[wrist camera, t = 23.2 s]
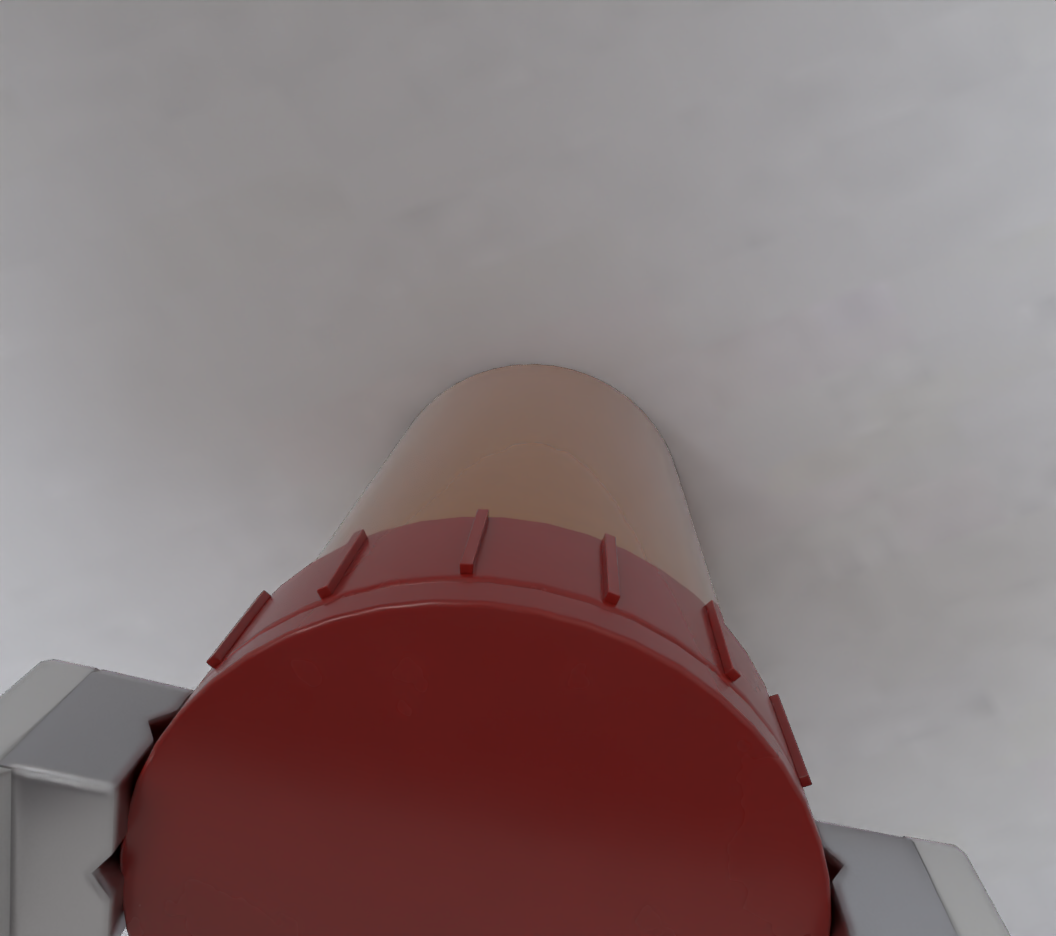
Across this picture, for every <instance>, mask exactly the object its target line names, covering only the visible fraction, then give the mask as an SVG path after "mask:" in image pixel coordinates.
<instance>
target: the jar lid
mask: <svg viewBox="0 0 1056 936" xmlns="http://www.w3.org/2000/svg"><path fill="white" fill-rule="evenodd" d="M207 663H208V664H209V665H210V666H211V667H212V668H211V670H210V671H209V672H208V674H207V675H206V676H205V678H204V679H203V680H202V682H201V683H200V684H199V686H198V687H197V688H196V689H195V691H194V692H193V693H192V695H191V696H190V697H189V698H188V700H187V701H186V702H185V704H184V705H183V706H182V708H181V709H180V710H179V712H178V713H177V714H176V716H175V717H174V718H173V720H172V721H171V722H170V724H169V725H168V727H167V728H166V729H165V731H164V732H163V733H162V735H161V736H160V737H159V739H158V740H157V741H156V743H155V745H154V747H153V749H152V751H151V753H150V754H149V756H148V758H147V760H146V762H145V764H144V766H143V768H142V770H141V772H140V774H139V776H138V778H137V781H136V784H135V787H134V790H133V793H132V797H131V801H130V805H129V813H128V825H127V835H126V836H125V837H124V839H123V840H122V843H121V850H120V870H121V872H122V874H123V877H124V885H123V911H124V917H125V923H126V928H127V932H128V935H129V936H830V929H831V920H832V913H831V892H830V877H829V873H828V868H827V863H826V859H825V854H824V849H823V845H822V840H821V837H820V834H819V832H818V829H817V826H816V823H815V820H814V818H813V815H812V812H811V810H810V807H809V804H808V801H807V798H806V795H805V793H804V790H803V787H806V786H809V785H812V782H811V780H810V777H809V775H808V772H807V769H806V767H805V764H804V761H803V759H802V756H801V753H800V751H799V748H798V745H797V743H796V740H795V737H794V735H793V732H792V730H791V727H790V724H789V722H788V719H787V716H786V714H785V711H784V708H783V706H782V703H781V701H780V698H779V695H778V694H776V695H773V696H770V697H769V695H768V692H767V689H766V687H765V684H764V682H763V680H762V679H761V677H760V675H759V673H758V672H757V670H756V668H755V666H754V665H753V663H752V661H751V659H750V658H749V656H748V654H747V652H746V651H745V650H744V648H743V647H742V646H741V644H740V643H739V642H738V641H737V639H736V638H735V637H734V635H733V634H732V633H731V632H730V630H729V629H728V628H727V626H726V625H725V623H724V620H723V617H722V614H721V611H720V608H719V606H718V605H717V604H716V603H715V602H714V601H713V600H711V601H710V602H708V603H707V604H706V605H705V604H704V603H703V602H702V601H701V600H700V599H699V598H698V597H697V596H696V595H695V594H694V593H692V592H691V591H690V590H688V589H687V588H686V587H684V586H683V585H682V584H680V583H679V582H678V581H676V580H675V579H674V578H672V577H671V576H670V575H668V574H667V573H665V572H664V571H663V570H661V569H659V568H658V567H656V566H654V565H652V564H650V563H649V562H647V561H645V560H643V559H642V558H640V557H638V556H636V555H634V554H633V553H631V552H629V551H627V550H625V549H623V548H620V547H618V546H616V537H614V536H612V535H609V534H607V533H605V535H604V537H603V539H602V540H600V539H598V538H596V537H593V536H591V535H588V534H585V533H581V532H577V531H574V530H570V529H566V528H562V527H559V526H555V525H551V524H547V523H542V522H534V521H527V520H519V519H512V518H505V517H489V510H488V509H478V510H477V512H476V515H475V517H456V518H446V519H437V520H428V521H420V522H416V523H412V524H408V525H403V526H399V527H395V528H391V529H387V530H383V531H380V532H377V533H374V534H372V535H369V536H367V535H366V533H365V531H364V529H362V530H359V531H357V532H354V533H353V535H352V536H351V538H350V539H349V541H348V543H347V544H346V545H343V546H342V547H340V548H338V549H336V550H334V551H333V552H331V553H329V554H327V555H325V556H323V557H322V558H320V559H318V560H316V561H314V562H312V563H311V564H309V565H308V566H307V567H305V568H304V569H303V570H301V571H300V572H299V573H297V574H296V575H295V576H293V577H292V578H291V579H289V580H288V581H286V582H285V583H284V584H282V585H281V586H280V587H279V588H278V589H277V590H276V591H275V592H274V593H273V594H272V595H271V596H270V595H269V594H268V593H267V592H266V591H263V592H262V593H261V594H260V595H259V596H258V597H257V598H256V599H255V601H254V602H253V603H252V604H251V606H250V607H249V608H248V609H247V611H246V612H245V613H244V615H243V616H242V617H241V618H240V620H239V621H238V622H237V623H236V625H235V626H234V627H233V628H232V630H231V631H230V632H229V634H228V635H227V636H226V637H225V639H224V640H223V641H222V642H221V644H220V645H219V646H218V648H217V649H216V650H215V651H214V653H213V654H212V655H211V656H210V658H209V659H208V660H207Z"/></svg>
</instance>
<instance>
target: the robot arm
mask: <svg viewBox="0 0 1056 936" xmlns="http://www.w3.org/2000/svg"><path fill="white" fill-rule="evenodd" d="M194 691H195V690H190V689H186V688H182V687H177V686H173V685H169V684H164V683H160V682H156V681H151V680H147V679H142V678H138V677H134V676H129V675H125V674H121V673H116V672H112V671H108V670H99V669H97V668H94V667H89V666H85V665H80V664H75V663H70V662H65V661H61V660H56V659H52V660H47V661H42V662H40V663H39V664H37V665H36V666H35V667H34V668H33V669H31V670H30V671H29V672H28V673H27V674H26V675H24V676H23V677H22V678H21V679H20V680H19V681H18V682H16V683H15V684H14V685H13V686H12V687H11V688H9V689H8V690H7V691H6V692H5V693H4V694H3V695H1V696H0V936H121V934H122V932H123V931H124V929H125V928H126V923H125V917H124V911H123V885H124V877H123V874H122V872H121V870H120V850H121V843H122V840H123V839H124V837H125V836H126V835H127V825H128V813H129V805H130V801H131V797H132V793H133V790H134V787H135V784H136V781H137V778H138V776H139V774H140V772H141V770H142V768H143V766H144V764H145V762H146V760H147V758H148V756H149V754H150V753H151V751H152V749H153V747H154V745H155V743H156V741H157V740H158V739H159V737H160V736H161V735H162V733H163V732H164V731H165V729H166V728H167V727H168V725H169V724H170V722H171V721H172V720H173V718H174V717H175V716H176V714H177V713H178V712H179V710H180V709H181V708H182V706H183V705H184V704H185V702H186V701H187V700H188V698H189V697H190V696H191V695H192V693H193V692H194ZM815 823H816V826H817V829H818V832H819V834H820V837H821V840H822V845H823V849H824V854H825V859H826V863H827V868H828V873H829V877H830V892H831V913H832V920H831V929H830V936H1010V934H1009V932H1008V930H1007V928H1006V926H1005V925H1004V923H1003V921H1002V919H1001V917H1000V915H999V914H998V912H997V910H996V908H995V906H994V904H993V903H992V901H991V899H990V897H989V895H988V893H987V892H986V890H985V888H984V886H983V884H982V882H981V881H980V879H979V877H978V875H977V873H976V872H975V870H974V868H973V866H972V864H971V862H970V861H969V859H968V857H967V855H966V854H965V853H964V852H963V851H962V850H960V849H959V848H958V847H957V846H955V845H952V844H946V843H940V842H935V841H929V840H923V839H918V838H912V837H906V836H903V837H898V836H893V835H888V834H883V833H878V832H873V831H868V830H863V829H857V828H852V827H847V826H842V825H837V824H832V823H827V822H822V821H817V820H815Z"/></svg>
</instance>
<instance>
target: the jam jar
mask: <svg viewBox="0 0 1056 936" xmlns="http://www.w3.org/2000/svg"><path fill="white" fill-rule="evenodd" d="M478 509H488V510H489V517H505V518H512V519H519V520H527V521H534V522H542V523H547V524H551V525H555V526H559V527H562V528H566V529H570V530H574V531H577V532H581V533H585V534H588V535H591V536H593V537H596V538H598V539H600V540H602V539H603V537H604V535H605V533H607V534H609V535H612V536H614V537H616V546H618V547H620V548H623V549H625V550H627V551H629V552H631V553H633V554H634V555H636V556H638V557H640V558H642V559H643V560H645V561H647V562H649V563H650V564H652V565H654V566H656V567H658V568H659V569H661V570H663V571H664V572H665V573H667V574H668V575H670V576H671V577H672V578H674V579H675V580H676V581H678V582H679V583H680V584H682V585H683V586H684V587H686V588H687V589H688V590H690V591H691V592H692V593H694V594H695V595H696V596H697V597H698V598H699V599H700V600H701V601H702V602H703V603H704V604H705V605H706V604H707V603H708V602H710V601H711V600H713V601H714V602H715V603H716V604H717V605H718V606H719V604H718V601H717V598H716V595H715V592H714V588H713V585H712V582H711V579H710V576H709V572H708V569H707V566H706V563H705V560H704V557H703V553H702V550H701V547H700V544H699V541H698V538H697V534H696V531H695V528H694V525H693V522H692V518H691V515H690V512H689V509H688V506H687V503H686V499H685V496H684V493H683V490H682V487H681V484H680V480H679V477H678V474H677V471H676V468H675V464H674V461H673V458H672V456H671V454H670V452H669V450H668V447H667V445H666V443H665V441H664V439H663V438H662V436H661V435H660V433H659V432H658V430H657V428H656V427H655V425H654V424H653V423H652V422H651V421H650V419H649V418H648V417H647V416H646V415H645V413H644V412H643V411H642V410H641V409H640V408H639V407H638V406H636V405H635V404H634V403H633V402H632V401H631V400H630V399H629V398H628V397H626V396H625V395H623V394H622V393H620V392H619V391H617V390H616V389H615V388H613V387H612V386H610V385H608V384H606V383H604V382H602V381H600V380H598V379H596V378H594V377H592V376H589V375H586V374H584V373H581V372H578V371H575V370H571V369H567V368H562V367H557V366H550V365H538V364H527V365H512V366H506V367H501V368H495V369H491V370H488V371H485V372H482V373H479V374H476V375H473V376H471V377H469V378H467V379H465V380H463V381H461V382H459V383H457V384H455V385H454V386H452V387H450V388H449V389H447V390H446V391H444V392H443V393H441V394H440V395H439V396H438V397H437V398H435V399H434V400H433V401H432V402H431V403H430V404H428V405H427V406H426V407H425V408H424V410H423V411H422V412H421V413H420V414H419V415H418V416H417V418H416V419H415V420H414V421H413V422H412V424H411V425H410V427H409V428H408V430H407V431H406V432H405V434H404V435H403V437H402V438H401V440H400V441H399V442H398V444H397V445H396V447H395V448H394V450H393V451H392V452H391V454H390V455H389V457H388V458H387V460H386V461H385V462H384V464H383V465H382V467H381V468H380V470H379V471H378V472H377V474H376V475H375V477H374V478H373V480H372V481H371V482H370V484H369V485H368V487H367V488H366V489H365V491H364V492H363V494H362V495H361V497H360V498H359V499H358V501H357V502H356V504H355V505H354V507H353V508H352V509H351V511H350V512H349V514H348V515H347V517H346V518H345V519H344V521H343V522H342V524H341V525H340V527H339V528H338V529H337V531H336V532H335V534H334V535H333V537H332V538H331V539H330V541H329V542H328V544H327V545H326V547H325V548H324V549H323V551H322V552H321V554H320V555H319V556H318V558H317V559H316V560H318V559H320V558H322V557H323V556H325V555H327V554H329V553H331V552H333V551H334V550H336V549H338V548H340V547H342V546H343V545H346V544H347V543H348V541H349V539H350V538H351V536H352V535H353V533H354V532H357V531H359V530H362V529H364V531H365V533H366V535H367V536H369V535H372V534H374V533H377V532H380V531H383V530H387V529H391V528H395V527H399V526H403V525H408V524H412V523H416V522H420V521H428V520H437V519H446V518H456V517H475V515H476V512H477V510H478ZM719 608H720V607H719Z"/></svg>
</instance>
